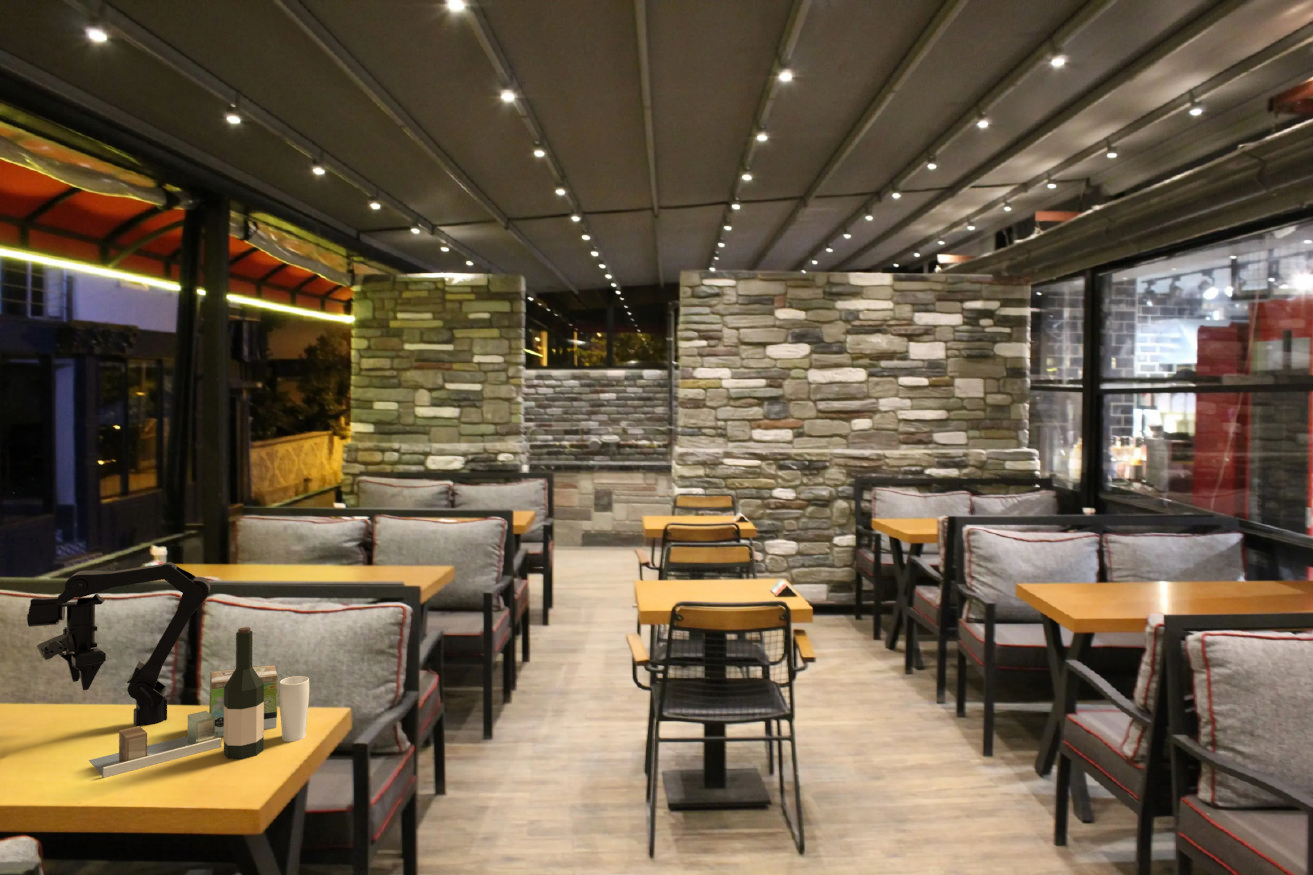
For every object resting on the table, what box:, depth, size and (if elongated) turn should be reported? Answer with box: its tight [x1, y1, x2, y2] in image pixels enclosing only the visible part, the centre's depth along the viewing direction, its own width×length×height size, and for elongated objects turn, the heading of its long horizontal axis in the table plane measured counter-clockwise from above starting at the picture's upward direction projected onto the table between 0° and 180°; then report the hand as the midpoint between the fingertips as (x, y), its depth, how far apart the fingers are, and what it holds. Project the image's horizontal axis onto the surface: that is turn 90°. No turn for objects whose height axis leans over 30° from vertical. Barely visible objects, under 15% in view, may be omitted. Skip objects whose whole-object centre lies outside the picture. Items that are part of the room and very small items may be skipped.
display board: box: [88, 735, 222, 779], centre depth 187 cm, size 24×13×3 cm, turn 137°
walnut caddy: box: [118, 726, 148, 763], centre depth 182 cm, size 6×4×7 cm, turn 47°
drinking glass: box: [278, 675, 310, 743], centre depth 198 cm, size 7×7×15 cm
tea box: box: [208, 664, 279, 738], centre depth 204 cm, size 15×10×15 cm, turn 120°
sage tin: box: [187, 710, 216, 745], centre depth 192 cm, size 6×4×7 cm, turn 47°
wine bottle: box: [223, 626, 265, 761], centre depth 188 cm, size 8×8×30 cm
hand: (80, 685), depth 200 cm, fingers open, 9 cm apart
